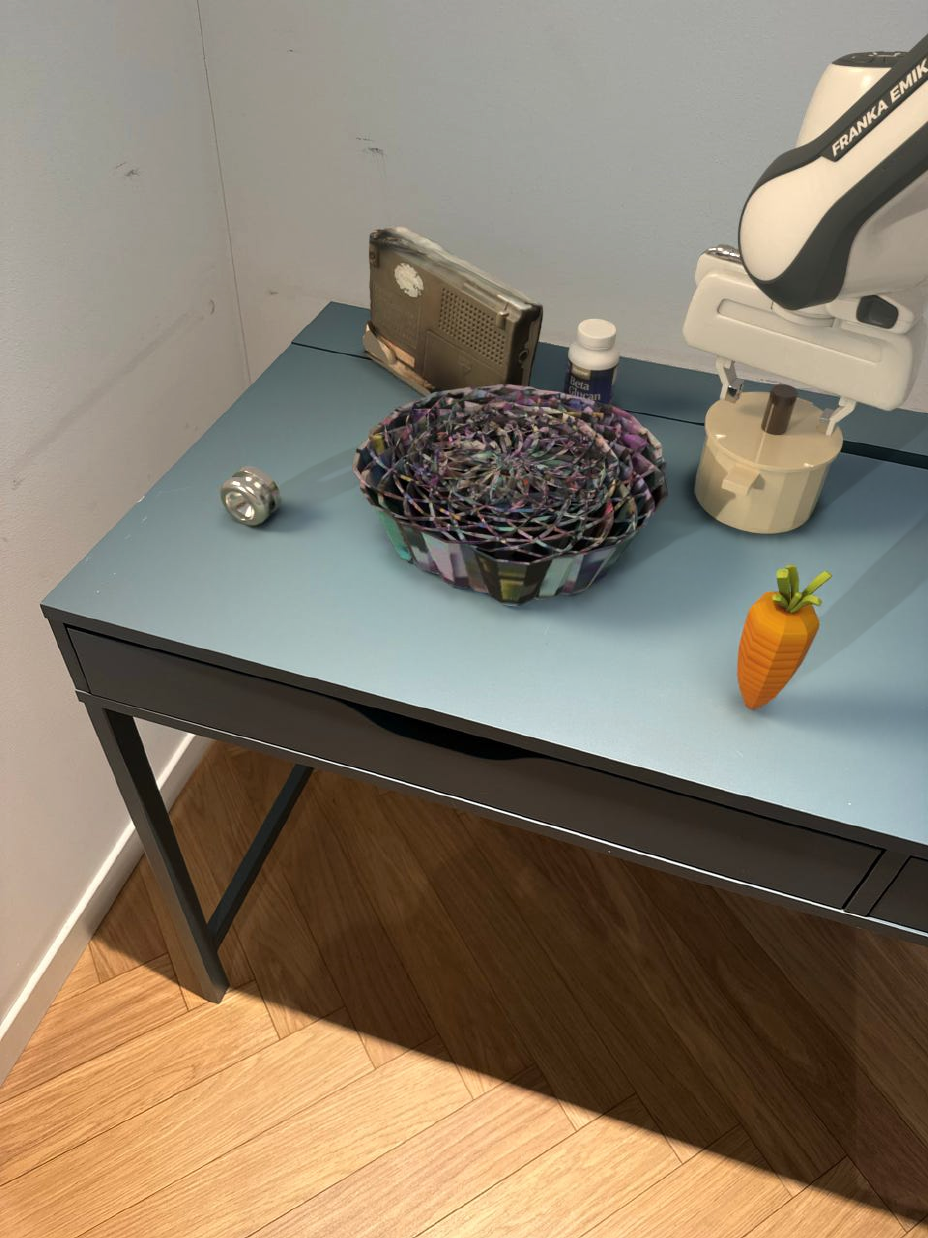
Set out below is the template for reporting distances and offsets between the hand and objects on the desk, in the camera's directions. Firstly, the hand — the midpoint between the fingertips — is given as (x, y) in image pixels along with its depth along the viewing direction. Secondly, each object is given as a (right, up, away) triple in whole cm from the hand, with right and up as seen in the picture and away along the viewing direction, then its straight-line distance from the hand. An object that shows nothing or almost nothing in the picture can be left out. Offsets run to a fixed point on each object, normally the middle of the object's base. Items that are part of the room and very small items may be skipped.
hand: (776, 414), depth 89 cm
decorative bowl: (-25, -11, +2) cm, 27 cm away
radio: (-30, +8, +20) cm, 37 cm away
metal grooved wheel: (-49, -9, +3) cm, 50 cm away
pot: (0, -7, +7) cm, 9 cm away
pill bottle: (-15, +4, +17) cm, 23 cm away
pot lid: (0, -1, +1) cm, 2 cm away
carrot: (-6, -26, -12) cm, 29 cm away
